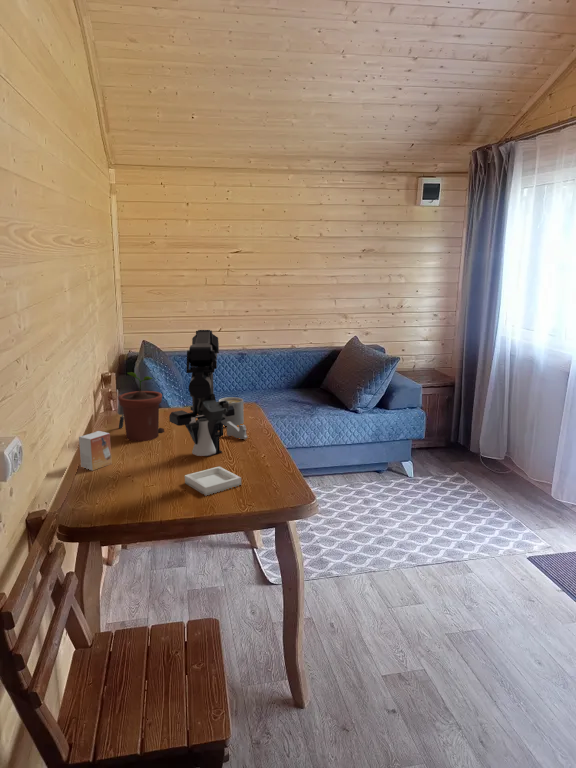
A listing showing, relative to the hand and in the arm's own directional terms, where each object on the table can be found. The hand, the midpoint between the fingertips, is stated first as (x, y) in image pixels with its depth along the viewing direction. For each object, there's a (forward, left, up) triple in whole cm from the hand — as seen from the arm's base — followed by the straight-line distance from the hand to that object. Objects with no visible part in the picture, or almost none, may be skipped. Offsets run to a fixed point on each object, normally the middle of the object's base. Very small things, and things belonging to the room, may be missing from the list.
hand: (203, 442), depth 163 cm
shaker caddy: (-2, +2, -13) cm, 13 cm away
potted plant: (-6, -58, -13) cm, 60 cm away
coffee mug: (-40, -49, -13) cm, 65 cm away
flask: (0, 0, -3) cm, 3 cm away
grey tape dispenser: (-32, -31, -13) cm, 47 cm away
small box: (+19, -35, -13) cm, 42 cm away
